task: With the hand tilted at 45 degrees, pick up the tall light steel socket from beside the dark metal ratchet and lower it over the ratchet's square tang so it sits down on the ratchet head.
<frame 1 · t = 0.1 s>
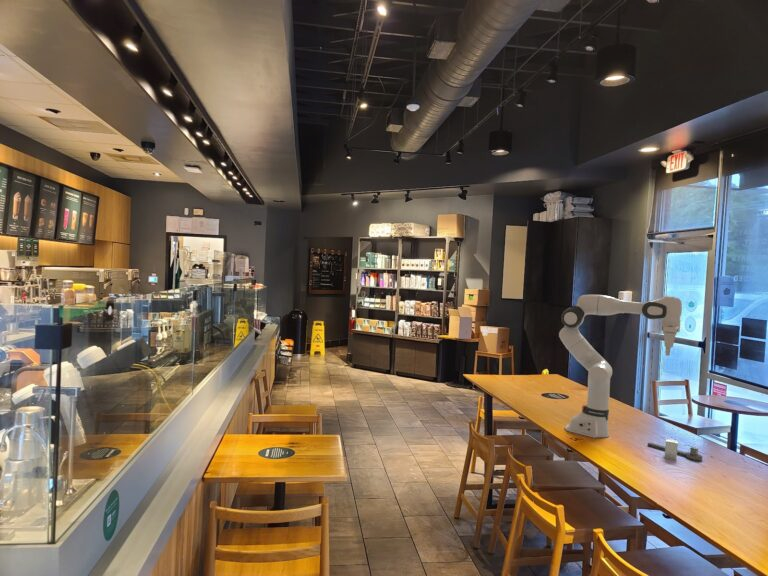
hand: (667, 354, 269), 48 cm above the table, tool pointing down, fingers open, 8 cm apart
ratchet: (693, 458, 255), on the table
socket: (670, 457, 255), on the table
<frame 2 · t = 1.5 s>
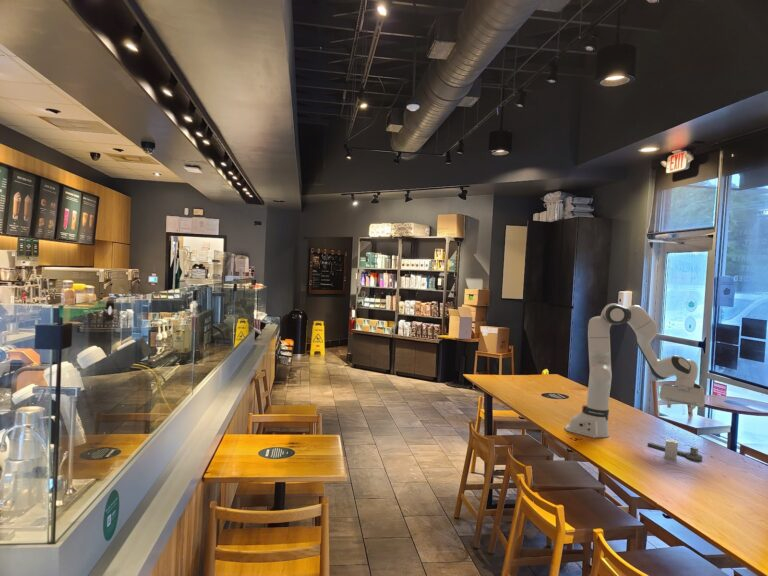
hand: (679, 409, 263), 21 cm above the table, tool tilted 45°, fingers open, 8 cm apart
nothing on the table moved.
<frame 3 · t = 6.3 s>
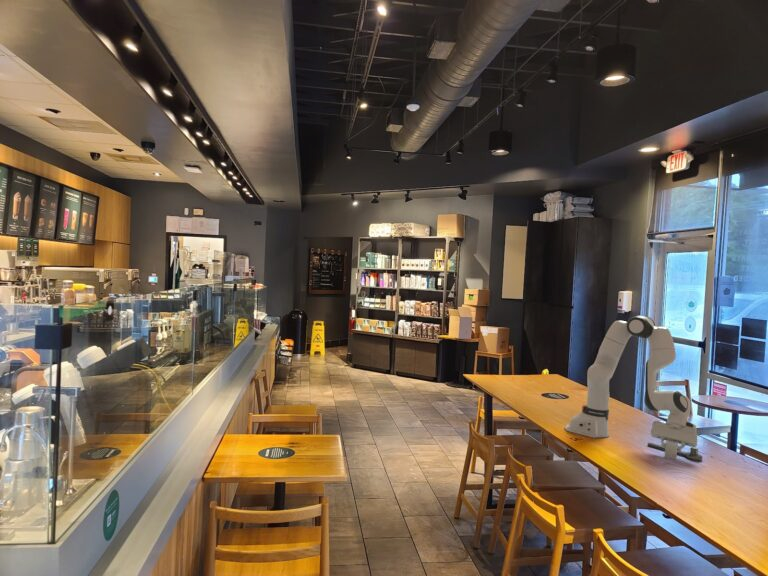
hand: (670, 448, 254), 4 cm above the table, tool tilted 45°, fingers closed on socket, 5 cm apart
socket: (670, 457, 255), on the table, touching gripper
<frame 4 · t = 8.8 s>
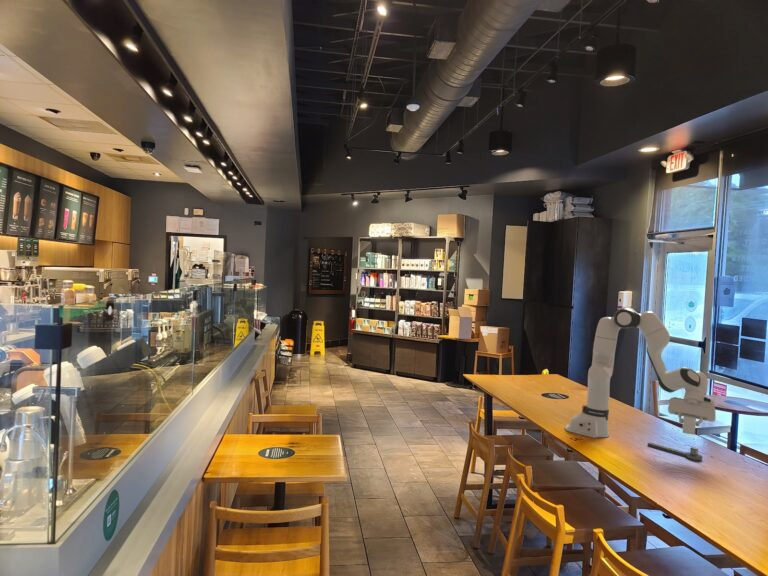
hand: (689, 423, 253), 17 cm above the table, tool tilted 45°, fingers closed on socket, 5 cm apart
socket: (688, 432, 254), point 13 cm above the table, touching gripper
when the fingers open (7 cm above the table, at t = 11.7 s): socket stays where it is, resting on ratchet.
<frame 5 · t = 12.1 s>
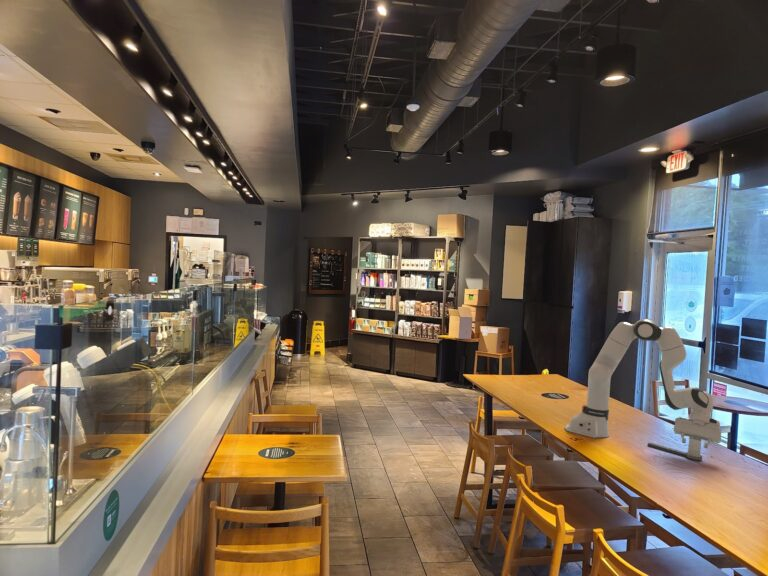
hand: (694, 444, 254), 7 cm above the table, tool tilted 45°, fingers open, 8 cm apart
socket: (693, 454, 255), point 2 cm above the table, touching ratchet
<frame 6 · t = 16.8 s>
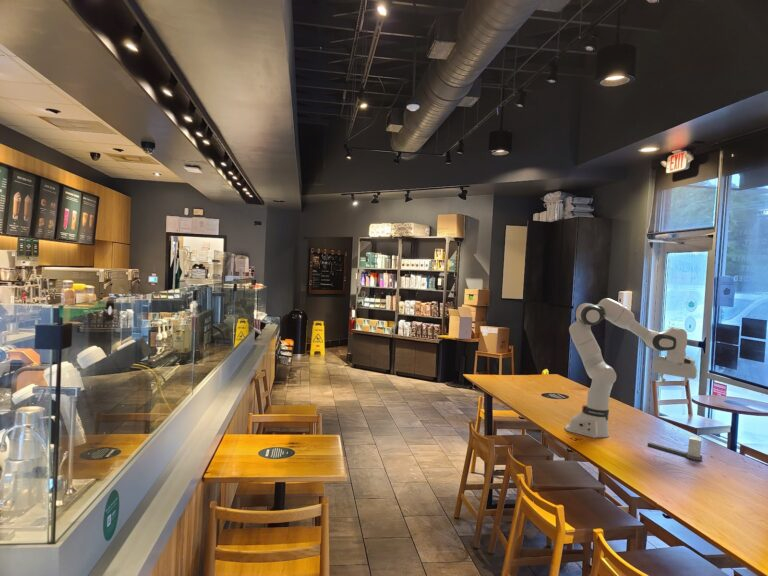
hand: (673, 384, 278), 31 cm above the table, tool pointing down, fingers open, 8 cm apart
nothing on the table moved.
at the end: socket 0.1 cm from the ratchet (horizontally); socket point 1.8 cm above the table; socket tilted 0° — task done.
